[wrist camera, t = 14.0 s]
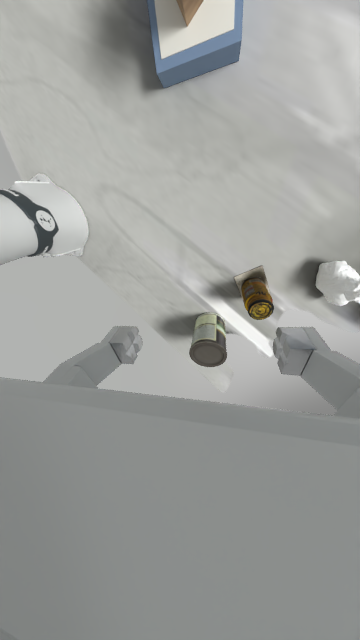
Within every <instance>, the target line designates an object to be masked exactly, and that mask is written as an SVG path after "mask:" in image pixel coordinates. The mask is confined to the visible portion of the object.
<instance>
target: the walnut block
mask: <svg viewBox="0 0 360 640" xmlns="http://www.w3.org/2000/svg"><path fill="white" fill-rule="evenodd" d="M176 1H177V3H178V6H179V8H180V11H181V13H182V16H183V18H184V20H185V23H186V25H187V27H188V25H189V23H190V22H191V20H192V18H193V17H194V15H195V14H196V12H197V10H198V9H199V7H200V6H201V4H202V2H203V1H204V0H176Z"/></svg>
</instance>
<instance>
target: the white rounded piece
mask: <svg viewBox="0 0 360 640" xmlns="http://www.w3.org/2000/svg"><path fill="white" fill-rule="evenodd" d="M316 287H317V288H318V289H319V290H320V291H321V292H322V293H323V295H324V297H325V298H326V299H327V301H328V302H329V303H333V304H334V305H339V306H342V305H345V304H347V303H348V302H349V301H355V302H357V303H359V304H360V276H359V274H358V273H357V272H356V271H355V270H354V269H353V268H352V267H350V266H349V265H347V263H346V262H345V261H333V262H328V263H322V264H320V266H319V271H318V273H317V275H316Z"/></svg>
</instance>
